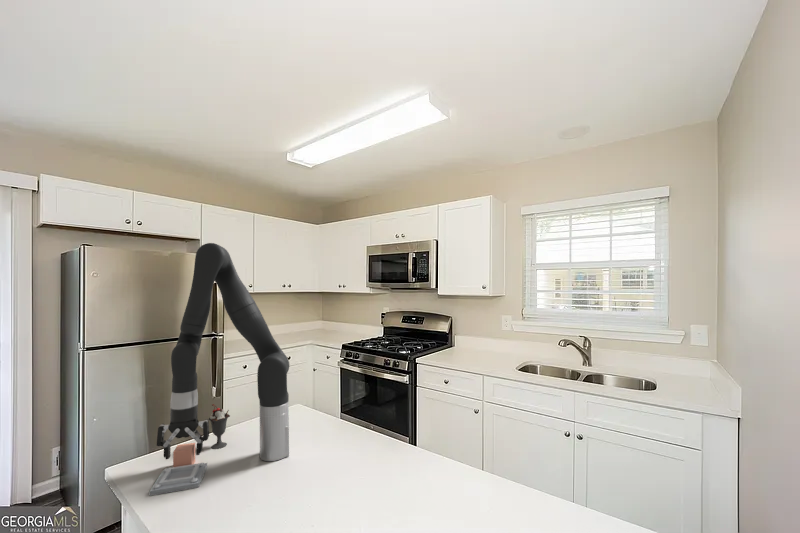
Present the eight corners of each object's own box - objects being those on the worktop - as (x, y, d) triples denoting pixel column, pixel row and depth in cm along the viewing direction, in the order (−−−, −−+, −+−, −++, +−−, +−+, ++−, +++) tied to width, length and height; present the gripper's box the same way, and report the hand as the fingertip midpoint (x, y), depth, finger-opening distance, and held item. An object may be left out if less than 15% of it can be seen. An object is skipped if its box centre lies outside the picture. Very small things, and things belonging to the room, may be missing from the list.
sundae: (203, 448, 127) (203, 405, 128) (219, 440, 133) (219, 399, 134) (217, 451, 125) (217, 407, 125) (233, 443, 131) (233, 401, 131)
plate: (207, 466, 114) (207, 459, 115) (198, 487, 103) (198, 479, 103) (163, 473, 111) (163, 466, 111) (149, 495, 99) (149, 487, 99)
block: (195, 461, 118) (195, 442, 119) (191, 468, 114) (191, 449, 114) (177, 464, 117) (177, 444, 117) (173, 471, 112) (173, 451, 112)
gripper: (211, 398, 122) (210, 447, 121) (162, 402, 118) (161, 453, 117) (206, 405, 115) (205, 458, 114) (154, 410, 110) (153, 465, 110)
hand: (183, 456), depth 115 cm, fingers open, 8 cm apart
